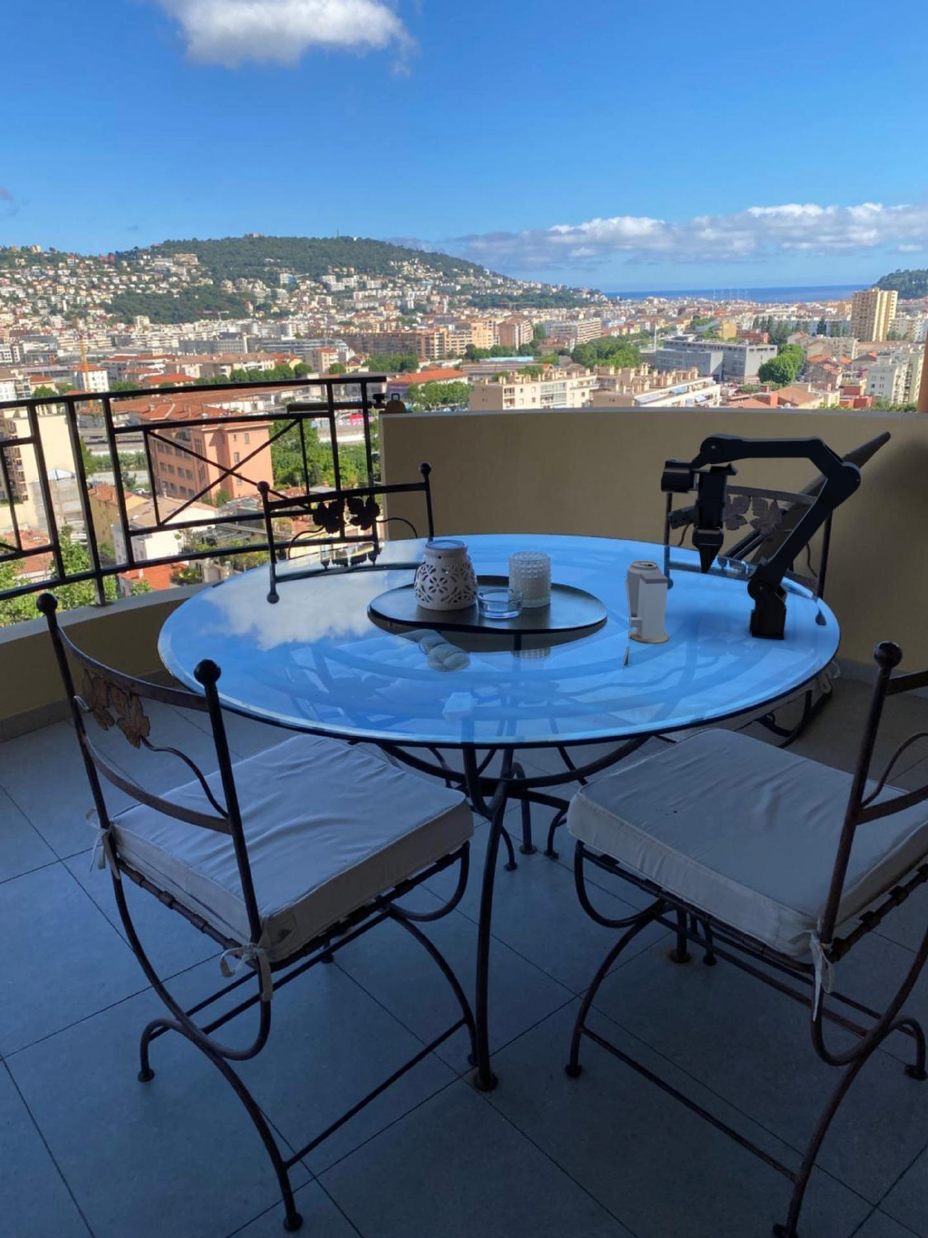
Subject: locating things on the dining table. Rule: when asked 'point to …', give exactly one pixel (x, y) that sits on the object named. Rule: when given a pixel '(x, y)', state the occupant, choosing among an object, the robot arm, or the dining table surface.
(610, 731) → the dining table surface
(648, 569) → the can
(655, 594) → the adapter
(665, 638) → the coaster
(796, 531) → the robot arm
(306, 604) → the dining table surface
